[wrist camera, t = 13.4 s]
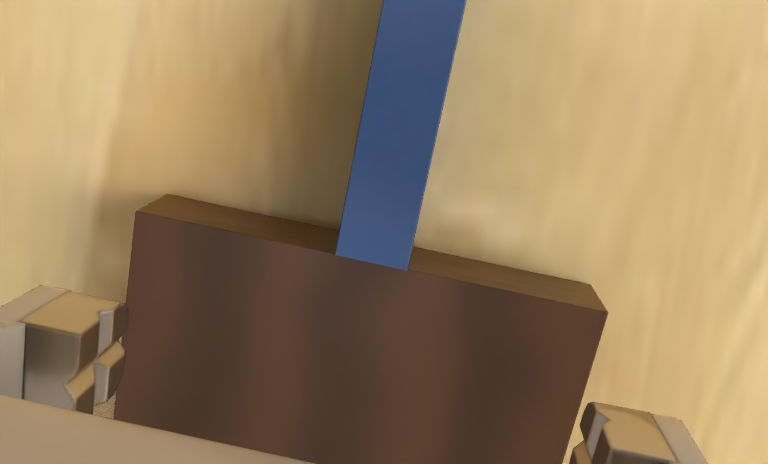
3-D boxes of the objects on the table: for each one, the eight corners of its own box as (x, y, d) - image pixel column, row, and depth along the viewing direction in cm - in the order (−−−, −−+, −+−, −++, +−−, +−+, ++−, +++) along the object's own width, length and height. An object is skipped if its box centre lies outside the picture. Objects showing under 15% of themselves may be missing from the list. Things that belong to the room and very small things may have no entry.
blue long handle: (411, -235, 28) (406, -281, 24) (537, -210, 27) (552, -252, 24) (326, 226, 33) (310, 250, 29) (432, 249, 32) (431, 276, 29)
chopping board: (591, 284, 32) (608, 312, 29) (516, 538, 36) (523, 589, 33) (166, 193, 33) (135, 210, 29) (136, 453, 36) (104, 495, 33)
